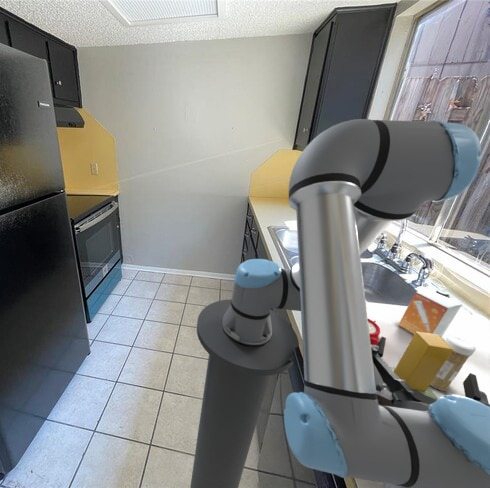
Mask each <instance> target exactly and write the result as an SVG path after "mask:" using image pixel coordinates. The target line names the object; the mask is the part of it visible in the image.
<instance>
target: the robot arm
mask: <svg viewBox="0 0 490 488" xmlns="http://www.w3.org/2000/svg"><path fill="white" fill-rule="evenodd" d="M481 153H482V145H481V141H480V139H479V136H478V135H477V133H476V132H475V131H474V130H473V129H472V128H470V127H469V126H467V125H465V124H463V123H458V122H457V123H456V122H446V121H441V120H436V119H432V120H427V121H426V120H391V119H390V120H388V119H385V120H384V119H383V120H382V119H370V118H369V119H368V118H356V119H355V118H354V119H350V120H345V121H341V122H340V123H337V124H334V125H332V126H330V127H328V128H326V129H325V130H323V131H322V132H321V133H319V134H318V135H317V136H316V137H314V138H313V139H312V140H311V141H310V142H309V143H308V144H307V145H306V147H305V148H304V149H302V152H301V153H300V155H299V156H298V158H297V160H296V162H295V164H294V166H293V168H292V170H291V174H290V177H289V183H288V204H289V205H288V206H289V207H290V208H291V209H293V210H294V211H295V212H296V213H295V214H296V230H297V231H296V234H297V250H298V251H297V255H298V261H296V262H295V263H294V264H293V266H292V268H281V266H280V265H279V263H276V262H275V261H273V260H269V259H266V258H265V259H264V258H251V259H247V260H244V262H241V263H240V264H238V267H237V269H236V272H235V276H234V277H233V279H234V281H233V282H234V283H233V289H232V295H231V299H232V300H231V299H230V300H231V305H230V306H229V308H228V309H227V311H226V313H225V314H224V316H223V319H222V329H223V331H224V333H225V334H226V335H227V336H228V337H229V338H230V339H231V340H233V341H234V342H236V343H239V344H241V345H244V346H249V347H259V346H263V345H265V344H267V343H268V342H269V341H270V339H271V335H272V326H271V319H270V312H271V310H272V309H278V310H288V311H294V312H295V311H296V312H300V316H301V319H300V320H301V337H302V338H301V339H302V340H301V341H302V359H303V360H302V361H303V381H304V382H303V383H304V386H303V387H304V388H303V391H299V392H292V393H289V394H288V395H287V397H286V399H285V402H284V403H285V404H284V405H285V408H284V409H283V422H284V430H285V431H284V432H285V436H286V440H287V443H288V446H289V448H290V451H291V452H292V454H293V456H294V457H295V459H296V460H297V461H298V462H299V463H300V464H301V465H303V467H306V468H308V469H313V470H316V471H319V472H324V473H328V474H332V475H335V476H337V477H340V478H344V479H345V478H346V477H347V478H351V479H358V480H363V481H364V480H366V481H372V482H376V483H384V484H383V488H490V403H489V399H488V395H487V394H486V393H485V392H484V391H481V390H480V388H479V382H478V378H477V375H476V374H473V373H471V372H470V373H468V375H467V376H466V378H465V379H464V380H463V382H462V385H463V386H462V387H463V391H464V395H459V394H446V395H443V396H440V397H438V400H436V399H434V398H431V397H429V396H426V395H424V394H422V393H421V392H419V391H417V390H415V389H412V388H411V387H410V386H409V385H408V384H407V383H406V382H405V381H404V380H401V379H400V378H399V377H398V376H397V375H396V374H395V373H394V372H393V370H392V369H391V368H390V367H391V366H389V365H388V364H387V362H386V361H385V360H384V359H383V356H384V353H385V352H384V351H385V346H386V340H387V337H384V336H380V339H379V343H378V345H377V346H376V345H372V347H371V343H370V335H369V326H368V319H369V318H368V311H367V302H366V293H365V285H364V276H363V268H362V261H361V260H362V259H361V256H362V255H363V253H365V251H366V250H367V249H368V248H369V247H370V246H371V245H372V244H373V243H374V242H375V241H376V240H377V239H378V238H379V237H380V235H381V234H382V233H383V232H384V231H385V230H386V229H387V228H388V227H389V226H390V225H391V224H392V223H393V222H400V221H405V220H407V219H410V218H411V217H413V215H415V213H416V212H417V211H418V210H419V209H420V208H421V207H422V206H423V205H425V203H427V202H433V203H439V202H442V201H449V200H451V199H454V198H457V197H458V196H459V195H461V194H462V193H463V192H464V191H466V190H467V189H468V187H470V185H471V183H472V182H473V181H474V180H475V178H476V176H477V174H478V171H479V168H480V165H481V161H482V159H481ZM383 381H384V382H385V383H383ZM386 385H387V386H388V387H389V389H390V391H388V389H387V387H386ZM402 389H403V390H402ZM379 395H380V396H382V397H384V398H386V399H389V400H390V402H391V404H392V407H391V406H384V405H382V404H379V399H378V397H379Z"/></svg>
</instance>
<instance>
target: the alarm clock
mask: <svg viewBox="0 0 490 488" xmlns="http://www.w3.org/2000/svg"><path fill="white" fill-rule="evenodd" d="M376 322H377V321H376V320H372V319H371V318H368V326H369V335H370V343H371V345H376V346H377V345H378V343H379V341H380V339H379V336H380V334H381V328H380V326H379V325H378V324H377V323H376Z"/></svg>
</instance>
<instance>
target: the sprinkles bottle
mask: <svg viewBox="0 0 490 488" xmlns="http://www.w3.org/2000/svg"><path fill="white" fill-rule="evenodd" d="M444 341H445V342H446V343H447V344H448V345H449V346H450V347H451V348H452V349H453V351H452V352H451V354H450V355H449V357H448V358H447V360H446V361H445V363H444V364H443V366H442V367H441V369H440V370H439V372H438V373H437V375H436V377H435V378H434V380H433V381H432V383H431V384H430V387H432V388H434V389H437V390H438V391H447V390H449V387H450V385H451V384H452V383H453V381H454V380H455V379H456V378H457V375H458V374H459V373H460V371H461V370H462V369H463V366H464V365H465V364H466V361H467V360H468V358H469V357H471V356H472V355H473V354H474V353H475V352H476V349H477V347H476V346H475V344H474V343H472V342H471V341H469V340H468V339H466V338H463V337H461V336H458V335H453V334H450V335H447V336H446V337H445V339H444Z"/></svg>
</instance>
